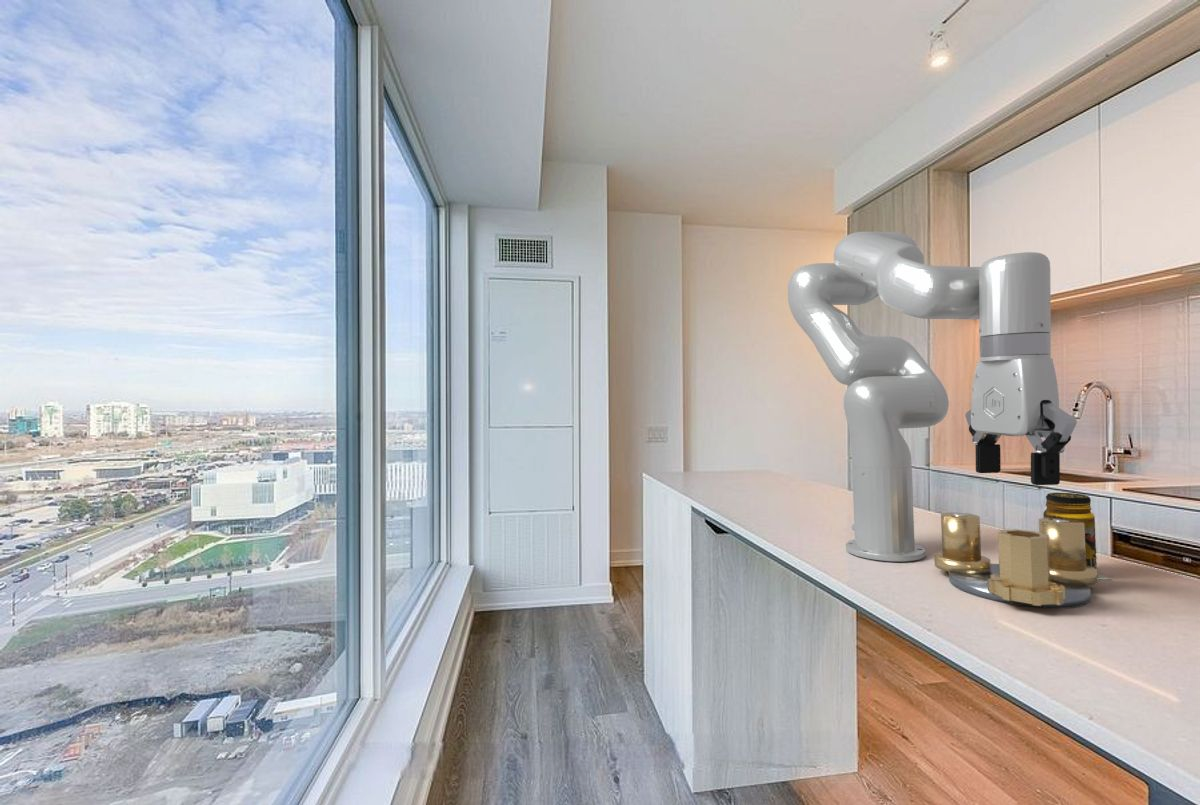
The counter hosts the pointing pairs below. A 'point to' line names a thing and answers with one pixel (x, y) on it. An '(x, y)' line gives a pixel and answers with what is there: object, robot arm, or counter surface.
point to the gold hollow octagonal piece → (1025, 569)
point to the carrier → (975, 569)
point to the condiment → (1076, 510)
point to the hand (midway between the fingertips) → (1014, 478)
